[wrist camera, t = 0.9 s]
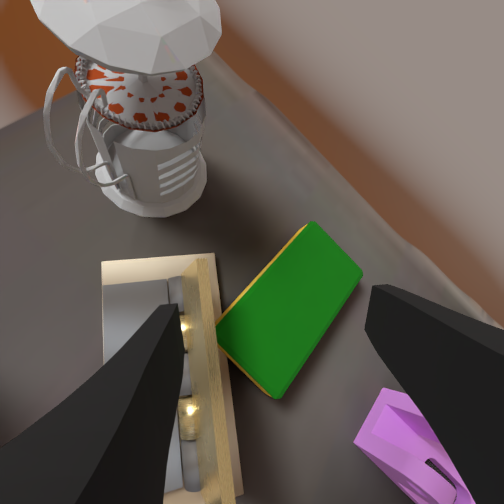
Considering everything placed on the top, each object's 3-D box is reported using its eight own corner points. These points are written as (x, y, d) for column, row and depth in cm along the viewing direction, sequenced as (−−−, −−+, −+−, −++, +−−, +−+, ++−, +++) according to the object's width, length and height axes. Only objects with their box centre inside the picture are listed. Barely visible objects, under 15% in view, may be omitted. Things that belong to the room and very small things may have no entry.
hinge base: (104, 264, 21) (94, 254, 19) (212, 255, 24) (217, 245, 21) (110, 534, 17) (98, 572, 15) (241, 488, 20) (251, 512, 17)
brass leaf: (183, 259, 16) (215, 257, 17) (166, 279, 21) (190, 278, 22) (210, 550, 12) (249, 528, 13) (181, 483, 18) (210, 471, 19)
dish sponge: (348, 277, 27) (365, 272, 25) (266, 395, 21) (278, 402, 19) (300, 227, 27) (313, 218, 25) (203, 333, 21) (209, 334, 19)
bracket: (352, 441, 23) (421, 485, 17) (381, 387, 25) (453, 406, 19) (458, 545, 23) (567, 629, 17) (478, 482, 25) (582, 534, 19)
